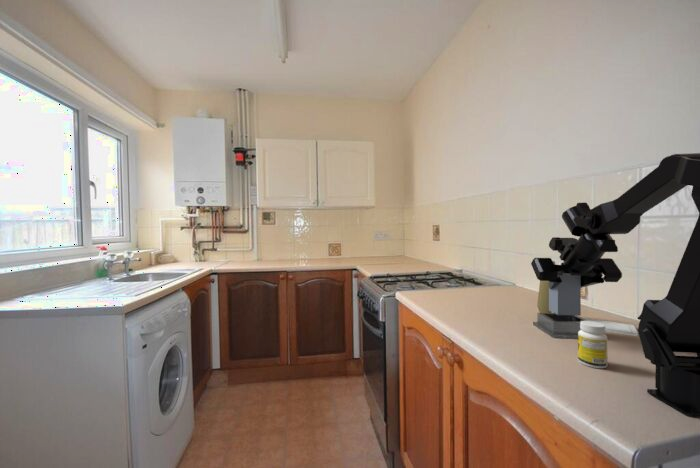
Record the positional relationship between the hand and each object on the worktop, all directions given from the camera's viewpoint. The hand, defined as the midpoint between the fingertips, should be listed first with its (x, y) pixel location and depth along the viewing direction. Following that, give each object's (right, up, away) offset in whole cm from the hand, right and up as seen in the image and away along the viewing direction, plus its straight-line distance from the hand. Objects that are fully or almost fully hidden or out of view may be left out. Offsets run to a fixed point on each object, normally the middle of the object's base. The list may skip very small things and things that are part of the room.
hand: (561, 287), depth 81 cm
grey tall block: (0, -7, -1) cm, 7 cm away
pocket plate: (0, -12, -1) cm, 12 cm away
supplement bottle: (-8, -12, -20) cm, 25 cm away
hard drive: (+14, -12, +2) cm, 19 cm away
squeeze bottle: (+4, -12, +10) cm, 16 cm away
